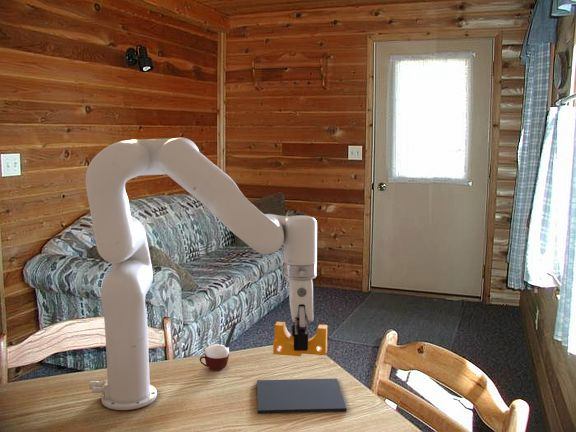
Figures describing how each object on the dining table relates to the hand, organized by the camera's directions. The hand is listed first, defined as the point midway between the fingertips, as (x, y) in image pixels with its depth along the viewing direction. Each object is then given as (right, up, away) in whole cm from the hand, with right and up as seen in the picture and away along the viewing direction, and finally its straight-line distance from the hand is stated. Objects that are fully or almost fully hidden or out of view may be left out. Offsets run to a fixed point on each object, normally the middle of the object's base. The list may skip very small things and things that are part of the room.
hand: (299, 344), depth 145 cm
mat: (0, -13, +2) cm, 13 cm away
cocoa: (-21, -10, +19) cm, 30 cm away
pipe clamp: (0, -2, 0) cm, 2 cm away
